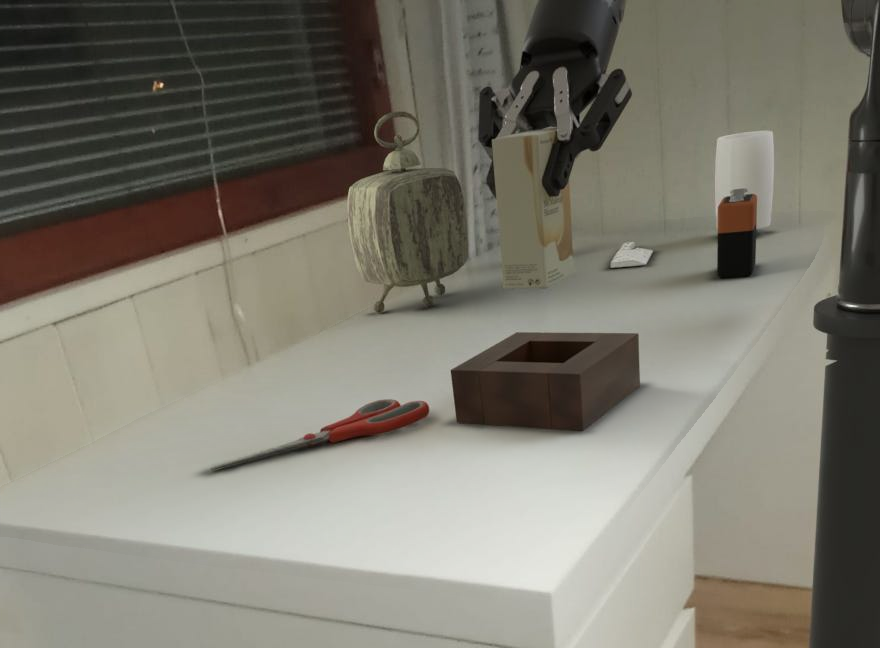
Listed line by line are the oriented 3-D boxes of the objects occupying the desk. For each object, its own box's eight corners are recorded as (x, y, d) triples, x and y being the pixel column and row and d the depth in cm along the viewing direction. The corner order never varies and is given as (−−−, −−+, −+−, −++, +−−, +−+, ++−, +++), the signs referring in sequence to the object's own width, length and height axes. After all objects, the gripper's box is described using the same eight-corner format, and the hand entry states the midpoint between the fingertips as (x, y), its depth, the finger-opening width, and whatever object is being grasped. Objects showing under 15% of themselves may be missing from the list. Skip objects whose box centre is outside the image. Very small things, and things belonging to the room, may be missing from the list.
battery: (755, 265, 133) (757, 185, 129) (752, 276, 128) (754, 193, 123) (721, 268, 135) (722, 189, 130) (716, 279, 129) (717, 197, 125)
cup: (782, 229, 153) (785, 128, 147) (756, 240, 148) (758, 136, 142) (730, 230, 159) (731, 132, 152) (704, 241, 154) (704, 141, 147)
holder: (640, 385, 94) (638, 333, 92) (583, 431, 85) (579, 374, 83) (520, 381, 101) (516, 332, 99) (456, 422, 92) (450, 369, 90)
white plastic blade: (656, 245, 156) (656, 238, 155) (645, 266, 143) (645, 258, 143) (623, 248, 157) (623, 240, 157) (609, 268, 145) (609, 260, 145)
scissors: (208, 470, 90) (205, 455, 90) (393, 405, 100) (391, 391, 100) (248, 488, 85) (244, 472, 84) (440, 417, 94) (438, 403, 94)
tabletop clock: (444, 292, 148) (422, 106, 136) (481, 297, 141) (461, 101, 129) (362, 315, 142) (331, 122, 130) (396, 321, 135) (367, 118, 123)
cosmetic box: (546, 290, 85) (536, 134, 79) (501, 291, 87) (488, 139, 82) (576, 273, 90) (569, 124, 84) (533, 274, 92) (522, 129, 86)
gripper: (487, -1, 87) (430, 170, 84) (642, -31, 79) (586, 156, 76) (520, 62, 93) (468, 223, 90) (667, 40, 85) (616, 215, 83)
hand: (523, 191), depth 83 cm, fingers closed on cosmetic box, 4 cm apart
